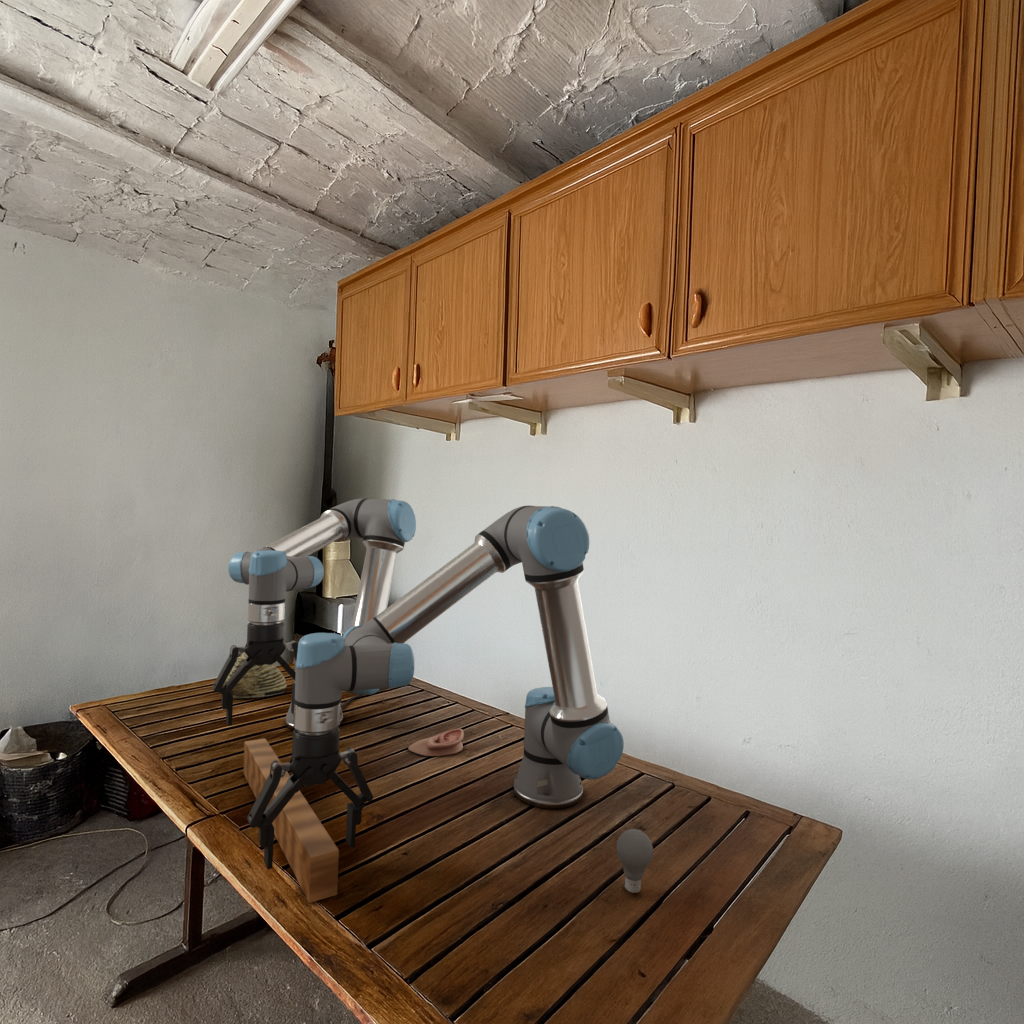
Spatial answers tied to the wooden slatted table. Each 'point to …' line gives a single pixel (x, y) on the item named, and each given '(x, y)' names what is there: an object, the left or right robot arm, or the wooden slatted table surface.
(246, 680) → the fossil
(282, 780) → the bar
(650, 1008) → the wooden slatted table surface
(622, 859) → the light bulb
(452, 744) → the anatomical model
